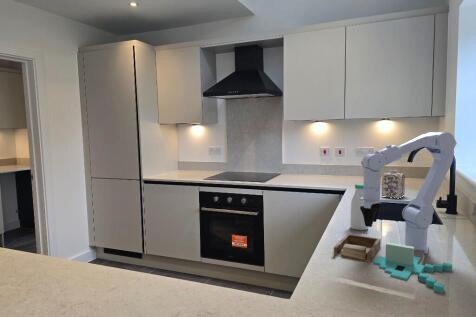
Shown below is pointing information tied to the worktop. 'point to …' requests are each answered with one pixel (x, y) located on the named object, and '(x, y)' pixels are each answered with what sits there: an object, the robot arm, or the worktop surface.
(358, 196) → the milk bottle
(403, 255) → the panel
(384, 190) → the decorative jar
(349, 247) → the offcut upper
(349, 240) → the wooden tray
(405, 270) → the alien figure
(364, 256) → the offcut lower
